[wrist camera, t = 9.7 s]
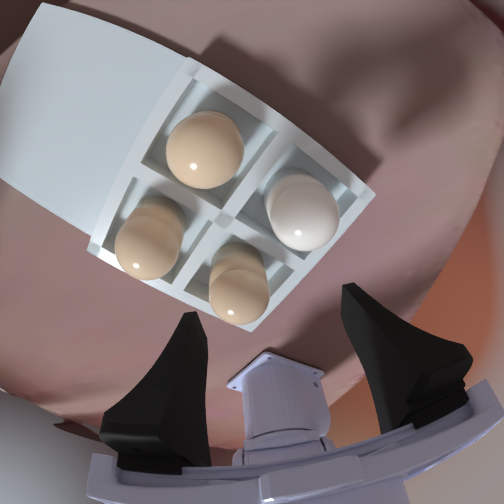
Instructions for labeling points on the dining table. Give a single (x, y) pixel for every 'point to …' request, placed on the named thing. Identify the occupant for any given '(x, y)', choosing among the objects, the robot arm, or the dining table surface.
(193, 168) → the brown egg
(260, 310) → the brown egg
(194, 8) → the dining table surface
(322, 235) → the white egg
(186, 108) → the egg carton
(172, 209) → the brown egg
